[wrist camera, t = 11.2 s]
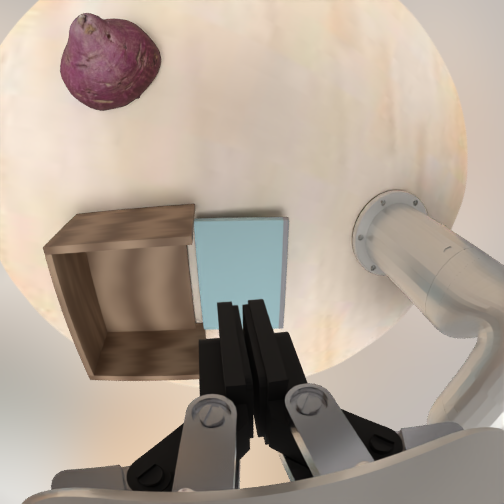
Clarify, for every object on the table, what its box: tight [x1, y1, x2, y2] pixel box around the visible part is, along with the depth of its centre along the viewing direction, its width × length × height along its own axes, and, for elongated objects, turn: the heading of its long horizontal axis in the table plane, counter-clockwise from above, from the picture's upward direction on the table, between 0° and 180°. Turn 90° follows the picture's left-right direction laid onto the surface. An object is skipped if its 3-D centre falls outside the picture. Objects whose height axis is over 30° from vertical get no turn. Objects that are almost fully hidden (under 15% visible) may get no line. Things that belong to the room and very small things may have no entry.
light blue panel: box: [194, 217, 289, 329], centre depth 39 cm, size 1×15×11 cm
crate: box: [43, 204, 206, 381], centre depth 35 cm, size 15×18×10 cm
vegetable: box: [60, 13, 161, 111], centre depth 23 cm, size 10×10×15 cm
